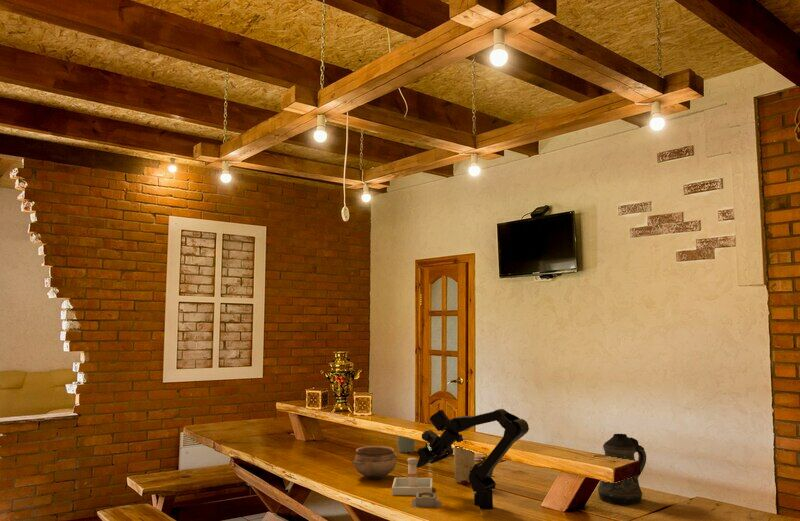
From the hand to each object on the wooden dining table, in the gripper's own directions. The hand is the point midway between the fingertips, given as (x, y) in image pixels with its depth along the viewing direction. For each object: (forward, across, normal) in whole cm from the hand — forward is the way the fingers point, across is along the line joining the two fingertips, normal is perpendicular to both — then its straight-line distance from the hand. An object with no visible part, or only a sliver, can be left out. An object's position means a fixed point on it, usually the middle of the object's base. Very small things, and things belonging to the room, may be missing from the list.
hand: (423, 465), depth 254 cm
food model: (+6, -25, +11) cm, 28 cm away
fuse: (+12, 0, +4) cm, 12 cm away
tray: (+12, 0, +4) cm, 13 cm away
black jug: (-38, -42, +55) cm, 79 cm away
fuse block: (+1, +12, +15) cm, 20 cm away
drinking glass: (+48, -62, -32) cm, 85 cm away
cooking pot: (+32, -9, -16) cm, 37 cm away
